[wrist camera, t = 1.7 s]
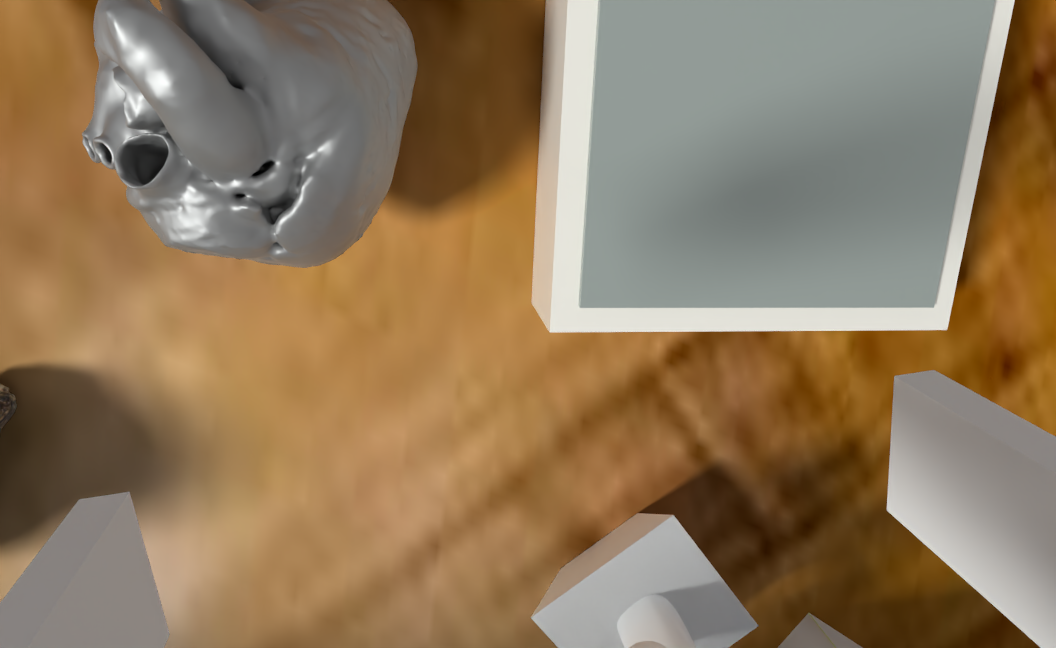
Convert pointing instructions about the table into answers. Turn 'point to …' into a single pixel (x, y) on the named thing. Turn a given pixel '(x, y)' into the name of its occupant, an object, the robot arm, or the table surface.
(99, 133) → the heart
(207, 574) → the table surface
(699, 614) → the figurine
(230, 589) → the table surface
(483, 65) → the table surface
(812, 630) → the puzzle toy
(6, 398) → the statue
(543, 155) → the plinth
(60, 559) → the robot arm
